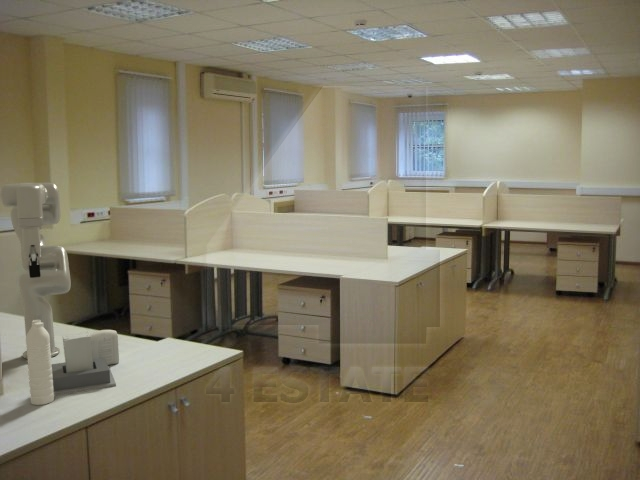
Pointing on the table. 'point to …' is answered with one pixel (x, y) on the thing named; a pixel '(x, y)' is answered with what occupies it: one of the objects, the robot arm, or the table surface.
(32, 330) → the water bottle
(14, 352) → the table surface
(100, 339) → the photo printer
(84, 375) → the dock
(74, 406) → the table surface
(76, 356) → the skincare box
